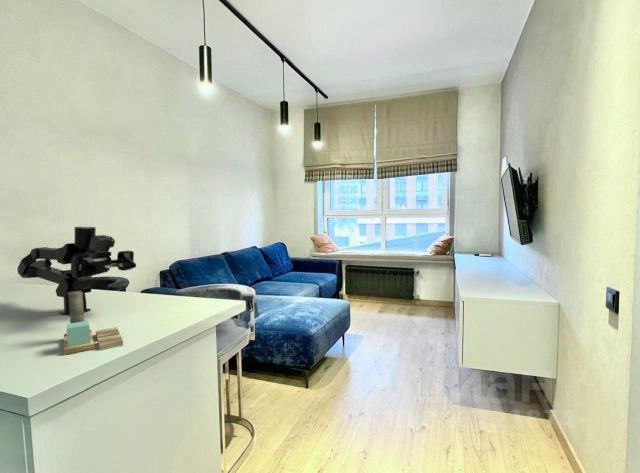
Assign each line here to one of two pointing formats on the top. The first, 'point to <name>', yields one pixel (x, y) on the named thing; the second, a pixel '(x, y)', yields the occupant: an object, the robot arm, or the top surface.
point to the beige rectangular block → (109, 338)
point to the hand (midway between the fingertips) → (122, 267)
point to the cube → (78, 333)
